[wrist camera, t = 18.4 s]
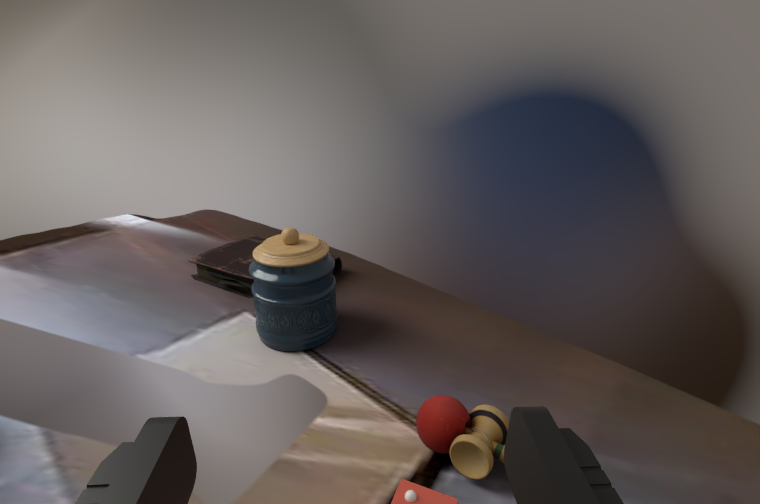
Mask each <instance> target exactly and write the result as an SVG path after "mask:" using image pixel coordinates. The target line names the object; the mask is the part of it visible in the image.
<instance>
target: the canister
mask: <svg viewBox="0 0 760 504" xmlns="http://www.w3.org/2000/svg"><path fill="white" fill-rule="evenodd" d="M328 252H329V246H328V245H327V243H325V242H324V241H322V240H320V239H318V238H317V237H315V236H313V235H310V234H305V233H298V231H297V230H296V229H294V228H292V227H288V228H285V229H284V230H283V231H282V234H280V235H276V236H273V237H270V238H268V239H266V240H265V241H264V242H263V243H262V244H260V245H259V246H257V247H256V248H255V249H254V251H253V258H254V260H253V261H252V262H251V264H250V265H249V273H250V275H251V276H252V277H253V278H254V282H253V284H252V287H251V291H252V294H253V297H254V305H255V312H256V329H257V332H258V334H259V337H260V339H261V341H262V342H263V343H264V344H265V345H267V346H268V347H271V348H273V349H276V350H281V351H302V350H307V349H311V348H314V347H317V346H319V345H321V344H323V343H325V342H326V341H328V340H329V339H330V338H331V337H332V336H333V335H334V333H335V331H336V326H337V322H338V313H337V310H336V293H335V286H336V279H335V277H334V275H333V274H332V270H333V269H334V267H335V259H334V258H333V256H332V255H330V254H329V253H328Z"/></svg>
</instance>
